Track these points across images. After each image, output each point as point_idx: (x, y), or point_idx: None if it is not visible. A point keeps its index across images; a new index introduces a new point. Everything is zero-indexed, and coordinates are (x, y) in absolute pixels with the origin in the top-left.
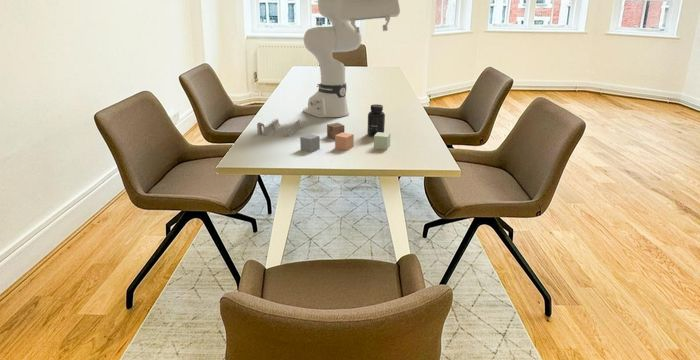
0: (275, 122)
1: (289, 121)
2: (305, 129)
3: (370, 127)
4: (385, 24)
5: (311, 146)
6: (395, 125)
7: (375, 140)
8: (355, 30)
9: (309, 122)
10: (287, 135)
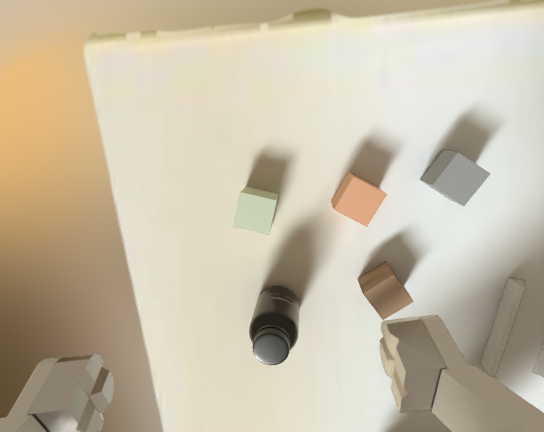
0: None
1: None
2: (464, 341)
3: (290, 300)
4: (28, 417)
5: (447, 152)
6: (231, 380)
7: (273, 197)
8: (445, 329)
9: None
10: (514, 279)
